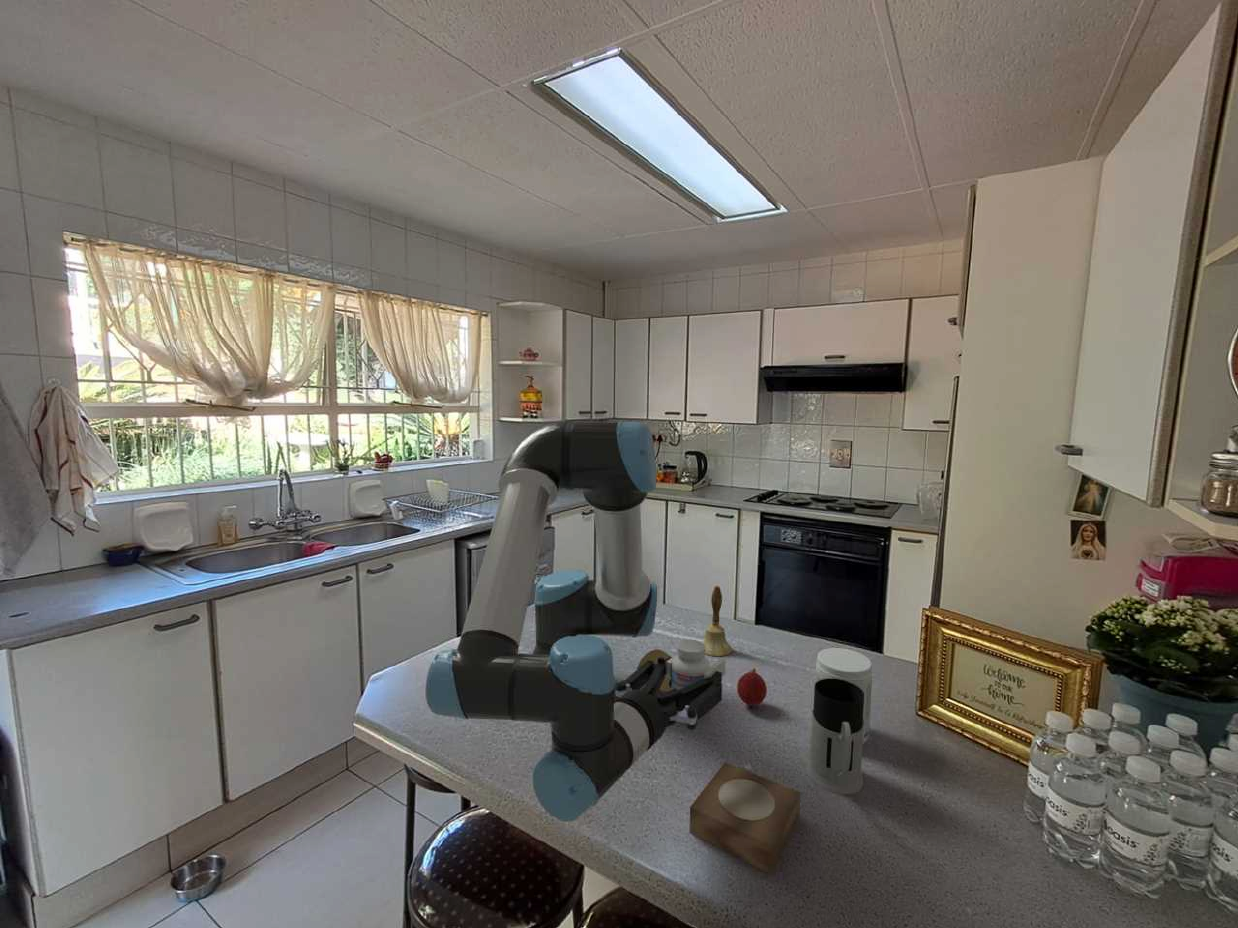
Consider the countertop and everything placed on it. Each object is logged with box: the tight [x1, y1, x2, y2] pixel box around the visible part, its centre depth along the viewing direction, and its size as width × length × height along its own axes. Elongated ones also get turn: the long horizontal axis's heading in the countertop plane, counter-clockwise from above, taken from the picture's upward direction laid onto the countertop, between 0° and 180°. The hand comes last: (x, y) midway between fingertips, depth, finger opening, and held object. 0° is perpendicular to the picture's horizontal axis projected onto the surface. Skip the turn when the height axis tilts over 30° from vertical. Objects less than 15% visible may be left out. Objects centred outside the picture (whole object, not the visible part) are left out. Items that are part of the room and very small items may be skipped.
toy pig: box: [636, 648, 672, 692], centre depth 111 cm, size 10×12×11 cm
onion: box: [736, 667, 768, 708], centre depth 110 cm, size 6×6×8 cm
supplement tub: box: [815, 647, 873, 745], centre depth 101 cm, size 10×10×15 cm
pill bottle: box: [672, 639, 710, 718], centre depth 89 cm, size 6×6×11 cm
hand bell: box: [701, 585, 733, 657], centre depth 135 cm, size 8×8×16 cm
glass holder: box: [806, 678, 864, 795], centre depth 87 cm, size 9×14×15 cm, turn 167°
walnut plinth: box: [689, 761, 801, 875], centre depth 80 cm, size 12×12×4 cm
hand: (704, 660), depth 93 cm, fingers closed on pill bottle, 6 cm apart
